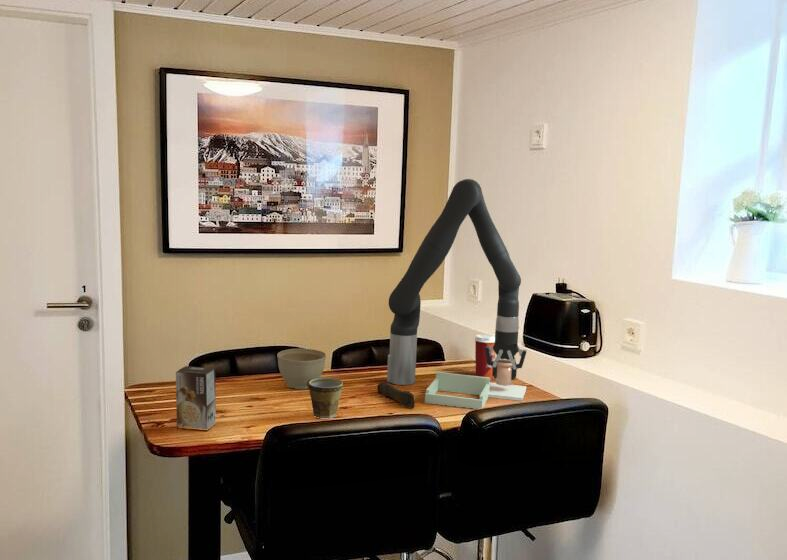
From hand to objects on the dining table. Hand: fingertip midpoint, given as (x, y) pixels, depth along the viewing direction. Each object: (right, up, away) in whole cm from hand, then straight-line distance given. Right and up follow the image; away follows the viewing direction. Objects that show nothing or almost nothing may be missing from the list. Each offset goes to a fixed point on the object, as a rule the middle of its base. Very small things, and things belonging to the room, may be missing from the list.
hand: (504, 378), depth 229 cm
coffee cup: (-4, -2, +19) cm, 20 cm away
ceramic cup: (-58, -7, -27) cm, 65 cm away
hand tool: (-35, -6, -11) cm, 38 cm away
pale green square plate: (0, -5, +1) cm, 5 cm away
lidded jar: (0, -2, 0) cm, 2 cm away
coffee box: (-91, -8, -41) cm, 100 cm away
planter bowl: (-68, -3, 0) cm, 68 cm away
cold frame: (-16, -5, -8) cm, 19 cm away
